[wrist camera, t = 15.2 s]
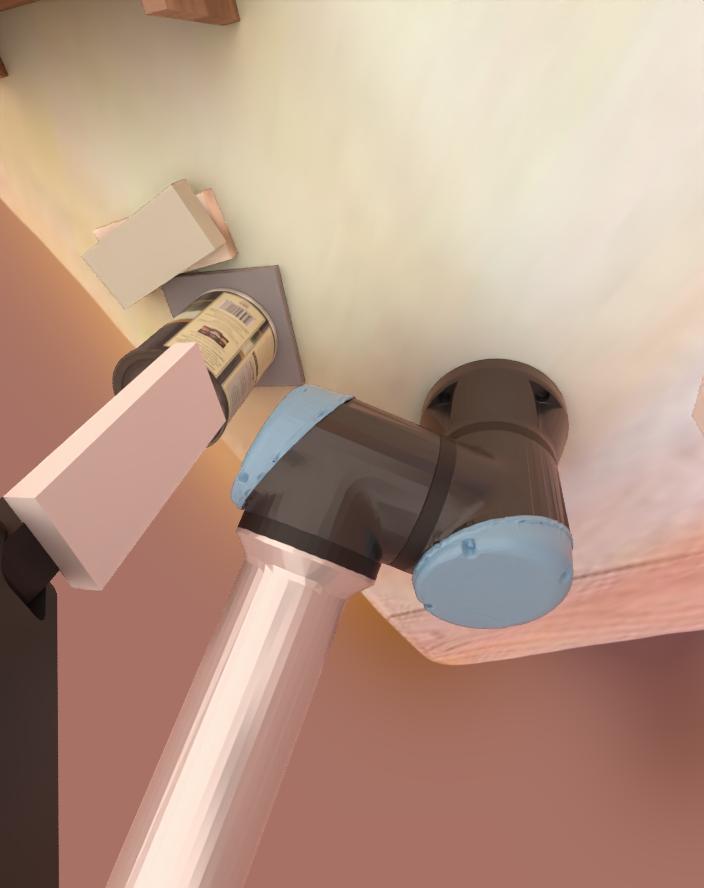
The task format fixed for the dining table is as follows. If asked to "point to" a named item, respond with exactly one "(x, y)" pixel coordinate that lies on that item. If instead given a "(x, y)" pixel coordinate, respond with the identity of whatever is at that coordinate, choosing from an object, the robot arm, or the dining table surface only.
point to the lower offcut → (214, 212)
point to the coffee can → (214, 346)
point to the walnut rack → (168, 12)
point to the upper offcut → (154, 244)
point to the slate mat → (266, 292)
